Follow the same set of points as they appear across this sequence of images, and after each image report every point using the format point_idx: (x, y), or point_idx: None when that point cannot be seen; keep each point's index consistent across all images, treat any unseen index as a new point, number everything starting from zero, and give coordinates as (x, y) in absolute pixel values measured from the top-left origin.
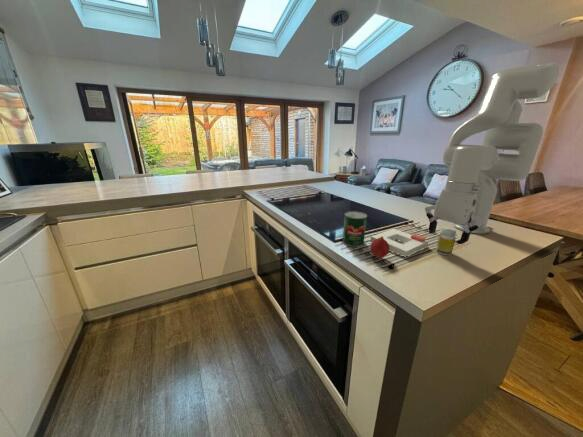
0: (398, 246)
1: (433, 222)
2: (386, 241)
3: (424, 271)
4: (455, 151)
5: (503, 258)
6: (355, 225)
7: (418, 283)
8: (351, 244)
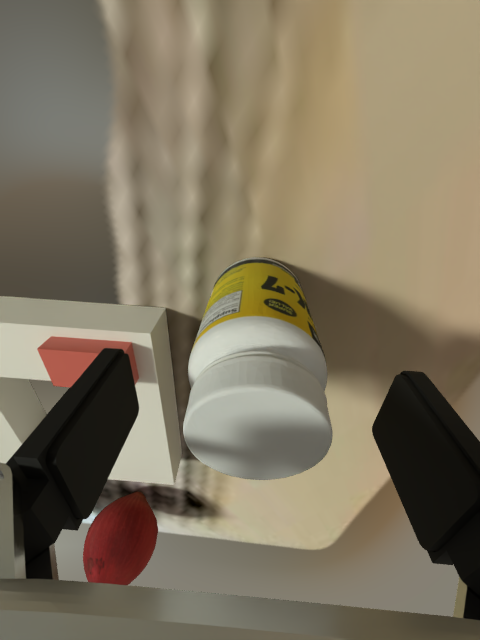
0: (126, 473)
1: (64, 515)
2: (121, 575)
3: None
4: None
5: None
6: None
7: (285, 515)
8: None
